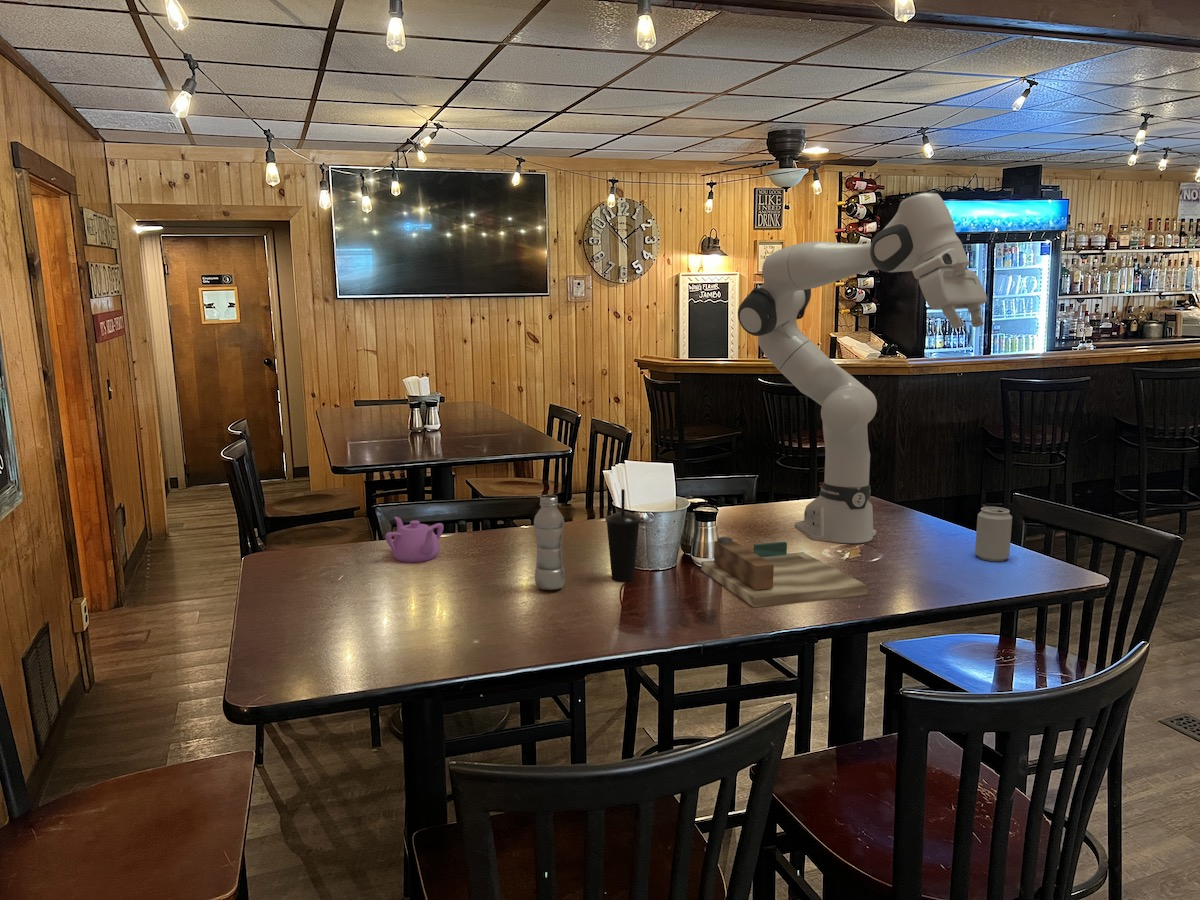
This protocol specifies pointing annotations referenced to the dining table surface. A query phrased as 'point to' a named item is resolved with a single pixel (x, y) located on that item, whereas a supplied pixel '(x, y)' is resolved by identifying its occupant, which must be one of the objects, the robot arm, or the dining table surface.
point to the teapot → (414, 541)
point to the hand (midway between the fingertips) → (968, 326)
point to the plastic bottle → (549, 544)
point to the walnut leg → (743, 564)
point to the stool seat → (789, 579)
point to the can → (993, 534)
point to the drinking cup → (622, 542)
